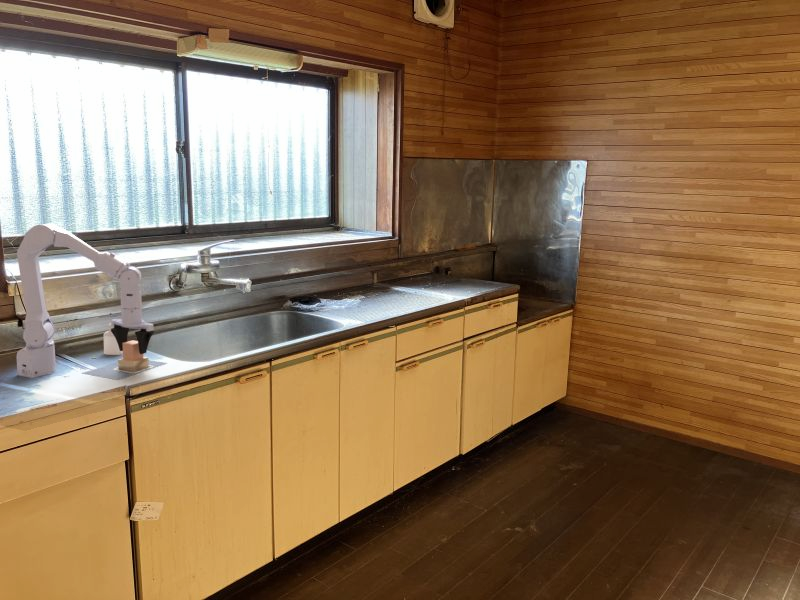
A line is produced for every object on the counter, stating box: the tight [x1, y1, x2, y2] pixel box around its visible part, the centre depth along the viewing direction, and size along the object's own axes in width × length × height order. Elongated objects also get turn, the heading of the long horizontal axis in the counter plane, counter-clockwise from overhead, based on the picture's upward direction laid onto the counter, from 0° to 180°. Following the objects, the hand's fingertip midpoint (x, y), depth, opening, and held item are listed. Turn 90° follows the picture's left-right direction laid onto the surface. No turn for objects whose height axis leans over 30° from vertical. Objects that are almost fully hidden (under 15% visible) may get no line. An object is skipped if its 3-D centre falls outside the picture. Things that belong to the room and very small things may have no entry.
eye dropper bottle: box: [103, 322, 123, 356], centre depth 208 cm, size 4×6×12 cm
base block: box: [117, 356, 150, 372], centre depth 193 cm, size 6×6×3 cm
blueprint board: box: [81, 359, 168, 381], centre depth 193 cm, size 20×14×1 cm
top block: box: [122, 339, 144, 361], centre depth 192 cm, size 4×4×5 cm
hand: (133, 351), depth 192 cm, fingers open, 7 cm apart
